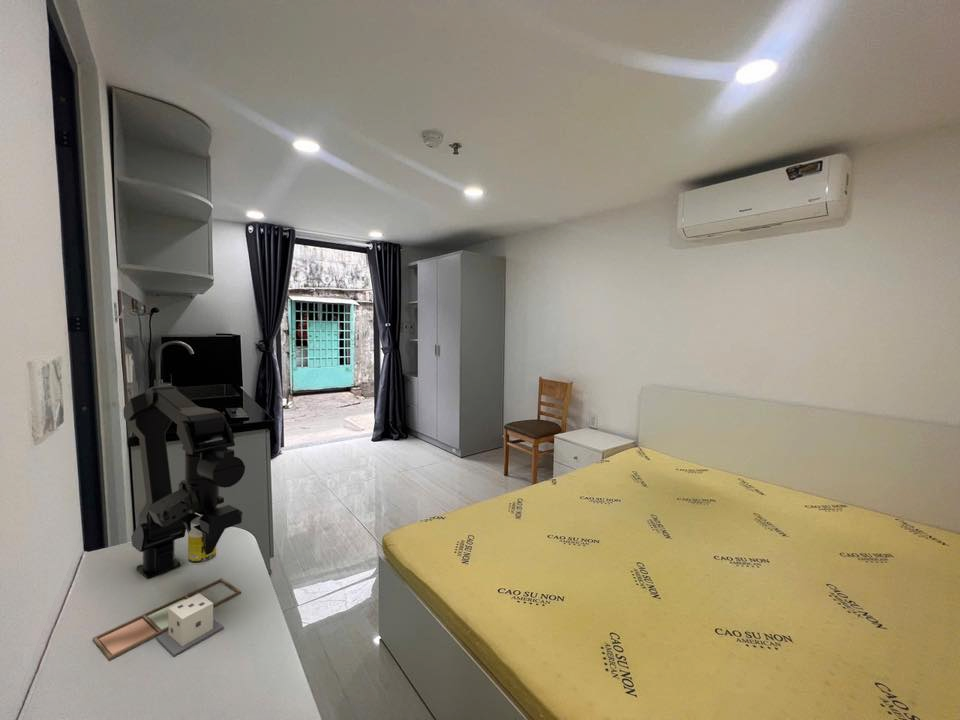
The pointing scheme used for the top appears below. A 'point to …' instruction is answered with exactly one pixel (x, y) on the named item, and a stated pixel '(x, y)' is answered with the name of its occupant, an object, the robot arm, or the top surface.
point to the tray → (145, 626)
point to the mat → (176, 648)
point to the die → (190, 619)
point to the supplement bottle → (197, 546)
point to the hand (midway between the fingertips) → (202, 549)
